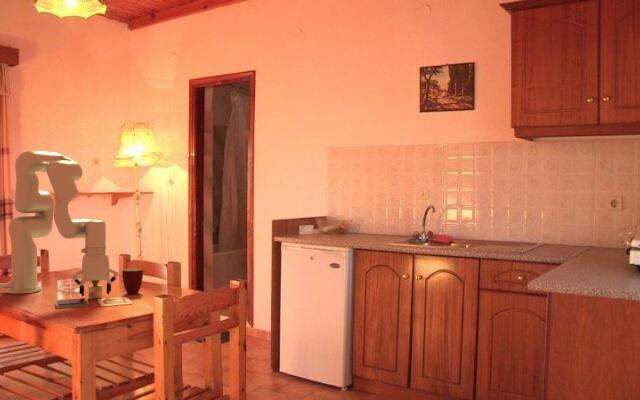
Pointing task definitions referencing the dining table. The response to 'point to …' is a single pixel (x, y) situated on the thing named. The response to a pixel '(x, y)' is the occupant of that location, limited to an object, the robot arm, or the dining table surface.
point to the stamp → (95, 291)
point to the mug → (132, 280)
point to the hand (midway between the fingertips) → (95, 294)
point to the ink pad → (71, 303)
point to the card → (114, 301)
